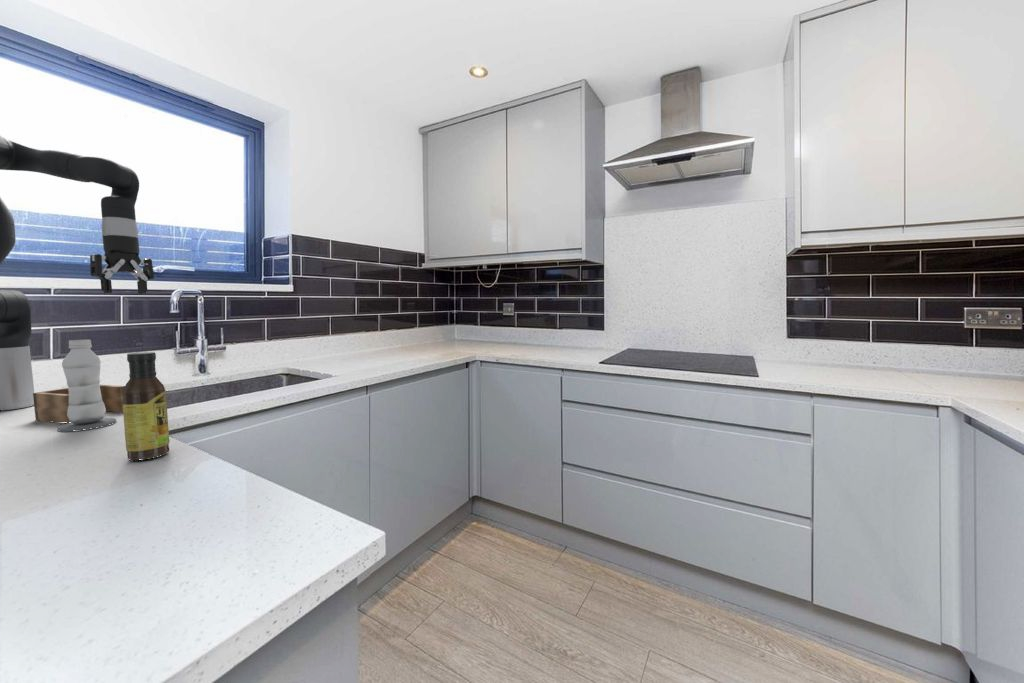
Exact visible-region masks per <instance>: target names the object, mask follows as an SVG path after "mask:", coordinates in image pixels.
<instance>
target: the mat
mask: <svg viewBox="0 0 1024 683" xmlns="http://www.w3.org/2000/svg"><path fill="white" fill-rule="evenodd" d="M115 422H116V423H117V419H116V418H115V417H104V418H103V419H102V420H99V421H96V422H93V423H89V424H73V423H67V424H64V423H62V424H61V425H59V426H57V431H58V430H60V431H73V430H83V429H90V428H96V427H101V426H106V425H109V424H112V423H115ZM116 423H115V424H116ZM112 425H113V424H112ZM109 426H110V425H109ZM106 427H107V426H106ZM60 431H59V432H60Z"/></svg>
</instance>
